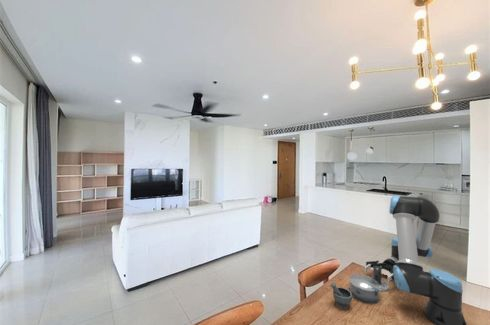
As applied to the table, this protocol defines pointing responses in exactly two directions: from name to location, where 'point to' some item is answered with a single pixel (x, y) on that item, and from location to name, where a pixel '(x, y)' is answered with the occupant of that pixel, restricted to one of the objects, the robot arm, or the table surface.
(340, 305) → the mortar and pestle
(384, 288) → the steel lid
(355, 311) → the table surface
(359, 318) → the table surface
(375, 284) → the cooker pot
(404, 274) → the robot arm
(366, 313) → the table surface
